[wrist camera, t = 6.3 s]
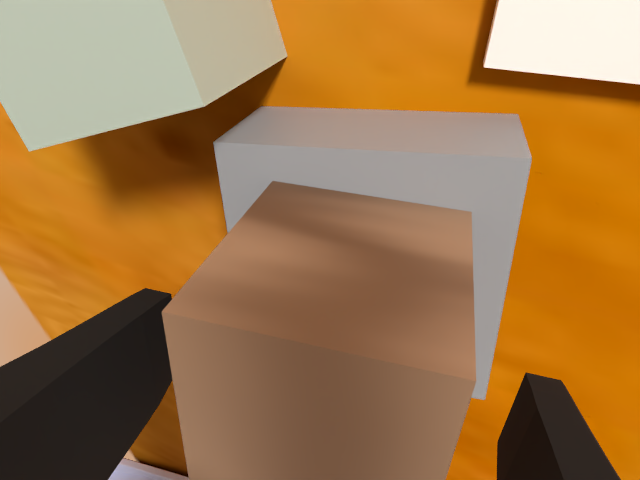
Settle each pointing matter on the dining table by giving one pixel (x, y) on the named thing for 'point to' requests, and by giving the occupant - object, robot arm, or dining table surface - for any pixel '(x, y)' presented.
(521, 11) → the plaque
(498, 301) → the slate plinth
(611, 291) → the dining table surface
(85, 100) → the grey-green block
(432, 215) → the walnut block
